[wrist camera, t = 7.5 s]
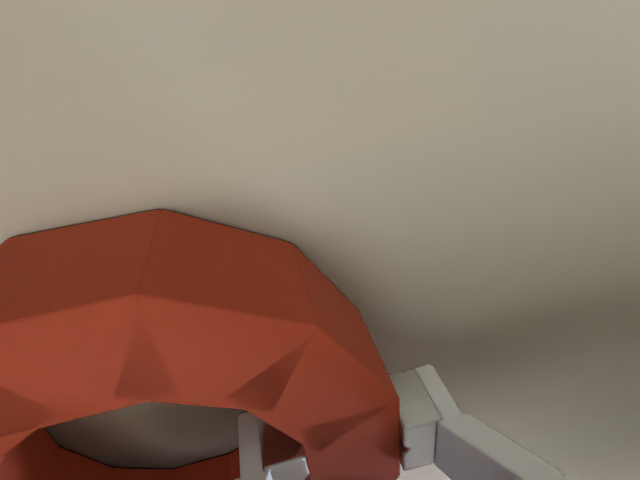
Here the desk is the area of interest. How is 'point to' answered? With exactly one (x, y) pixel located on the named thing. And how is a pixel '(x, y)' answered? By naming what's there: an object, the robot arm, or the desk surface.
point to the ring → (184, 345)
